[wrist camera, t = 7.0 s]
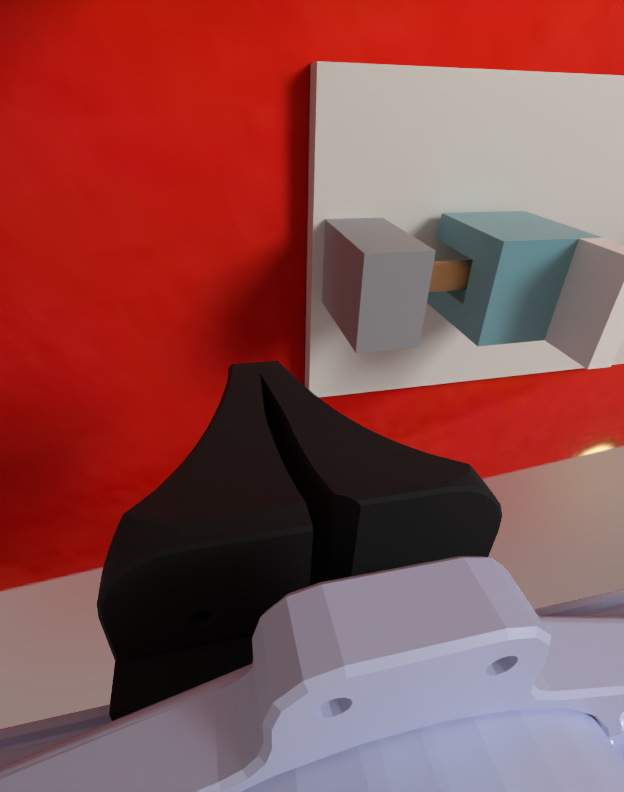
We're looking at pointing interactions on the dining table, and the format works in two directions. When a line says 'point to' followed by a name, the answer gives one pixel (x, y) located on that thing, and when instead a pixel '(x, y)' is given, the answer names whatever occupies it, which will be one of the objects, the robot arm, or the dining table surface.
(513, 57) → the dining table surface
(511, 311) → the slider block
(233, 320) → the dining table surface
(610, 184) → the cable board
